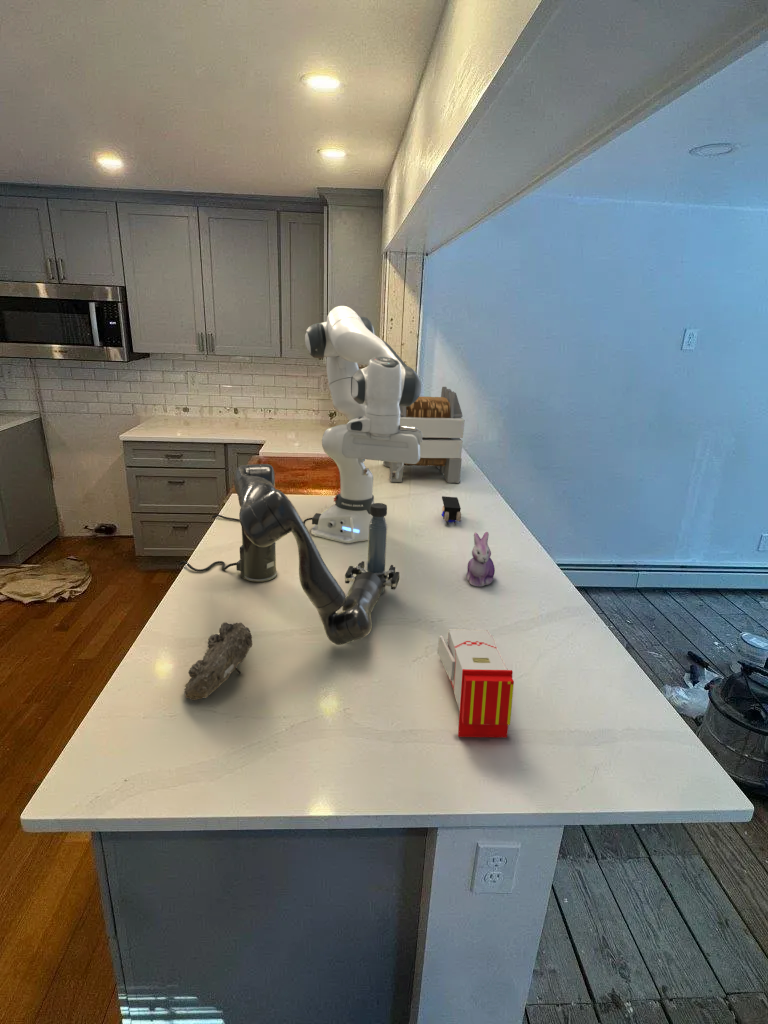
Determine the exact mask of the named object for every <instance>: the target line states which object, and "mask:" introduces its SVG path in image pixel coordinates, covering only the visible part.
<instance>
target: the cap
mask: <svg viewBox="0 0 768 1024" xmlns="http://www.w3.org/2000/svg"><path fill="white" fill-rule="evenodd" d="M370 514H371V515H372V516H374V517H386V516H387V514H388V505H387V504H386V503H384V502H383V503H382V502H374V504H371V510H370Z"/></svg>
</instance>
